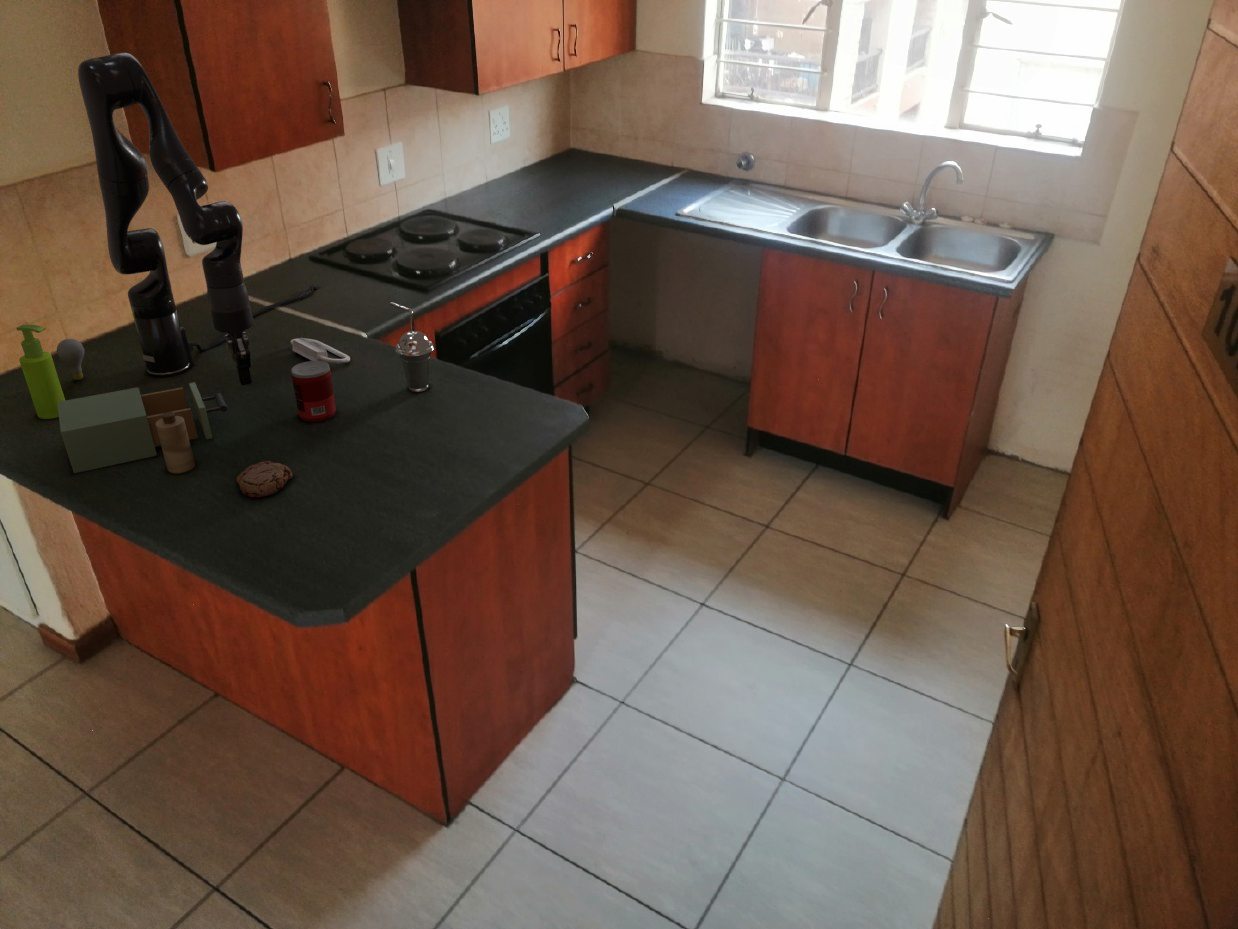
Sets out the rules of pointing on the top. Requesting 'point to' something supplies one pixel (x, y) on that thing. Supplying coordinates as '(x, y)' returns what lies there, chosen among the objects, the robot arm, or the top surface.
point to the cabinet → (105, 429)
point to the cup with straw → (415, 355)
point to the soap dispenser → (40, 374)
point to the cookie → (263, 479)
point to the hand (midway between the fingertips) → (246, 383)
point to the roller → (175, 443)
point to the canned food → (313, 390)
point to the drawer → (180, 409)
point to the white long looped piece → (316, 350)
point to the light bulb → (72, 356)
